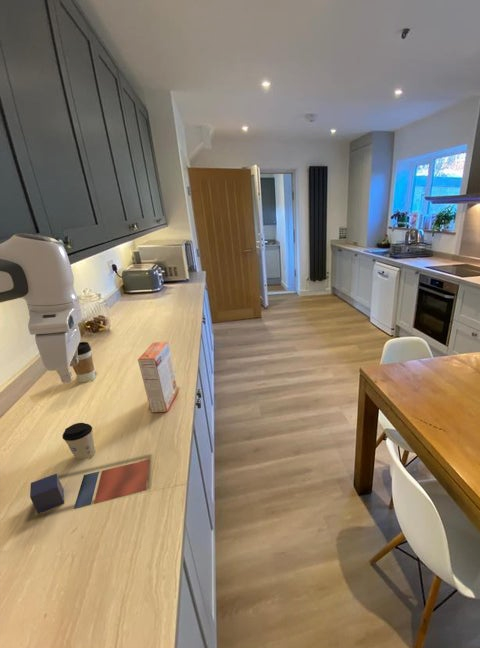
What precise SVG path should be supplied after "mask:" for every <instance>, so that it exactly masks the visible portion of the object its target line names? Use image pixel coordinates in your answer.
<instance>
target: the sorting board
mask: <svg viewBox="0 0 480 648" xmlns="http://www.w3.org/2000/svg"><path fill="white" fill-rule="evenodd" d="M150 463H151V460H150V458H148V459H144V460H140V461H137V462H133V463H128V464H123V465H120V466H116V467H111V468H108V469H103V470H101V473H100V471H94V472H91V473H85V474H84V475H83V477H82V479H81V483H80V487H79V490H78V493H77V496H76V500H75V503H74V506H73V509H74V510H75V509H79V508H84V507H86V506H90V505H92V504H98V503H102V502H105V501H109V500H113V499H117V498H121V497H125V496H129V495H132V494H133V495H134V494H136V493H140V492H143V491H146V490H147V486H148V485H147V484H148V483H149V481H150V480H149V479H150ZM99 474H100V476H99ZM98 479H99V481H98ZM97 484H98V486H97ZM96 487H97V490H96ZM95 491H96V493H95ZM94 494H95V498H94ZM93 499H94V502H93Z"/></svg>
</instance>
